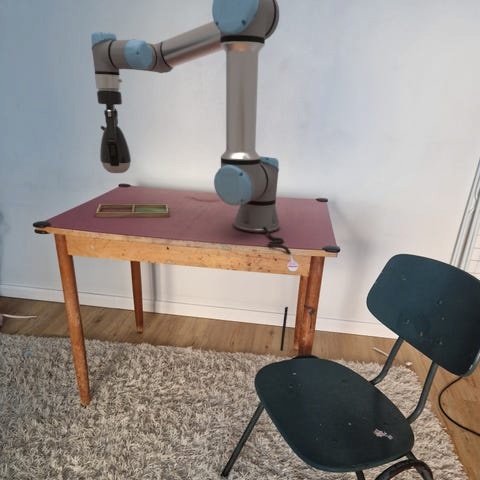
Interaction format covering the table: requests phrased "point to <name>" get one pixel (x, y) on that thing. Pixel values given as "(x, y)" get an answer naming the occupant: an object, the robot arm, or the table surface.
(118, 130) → the pump dispenser
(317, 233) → the table surface
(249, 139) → the robot arm
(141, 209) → the divided wooden tray
